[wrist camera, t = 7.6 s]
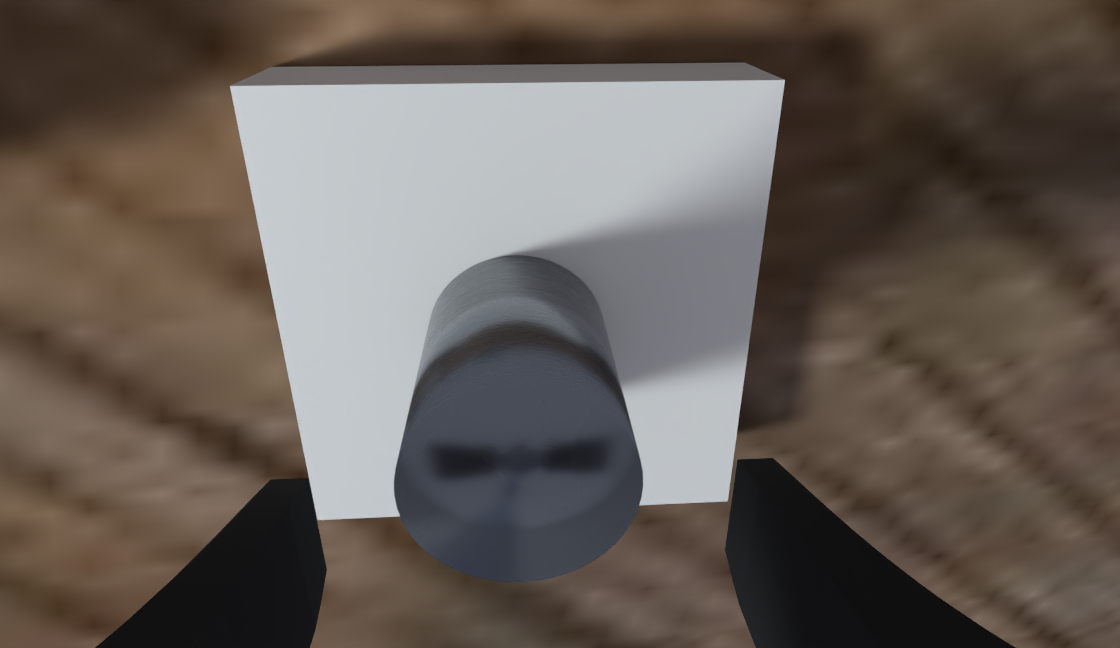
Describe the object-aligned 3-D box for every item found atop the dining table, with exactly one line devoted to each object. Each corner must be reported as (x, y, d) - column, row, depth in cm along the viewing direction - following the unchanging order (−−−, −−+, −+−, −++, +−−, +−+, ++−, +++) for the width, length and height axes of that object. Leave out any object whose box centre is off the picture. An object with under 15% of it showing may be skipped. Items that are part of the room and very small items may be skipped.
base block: (702, 440, 24) (727, 501, 21) (339, 455, 23) (317, 520, 21) (744, 62, 19) (785, 79, 16) (271, 66, 18) (229, 85, 15)
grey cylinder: (612, 398, 19) (652, 563, 14) (448, 422, 19) (423, 597, 14) (594, 242, 17) (631, 365, 12) (410, 269, 17) (365, 405, 12)
